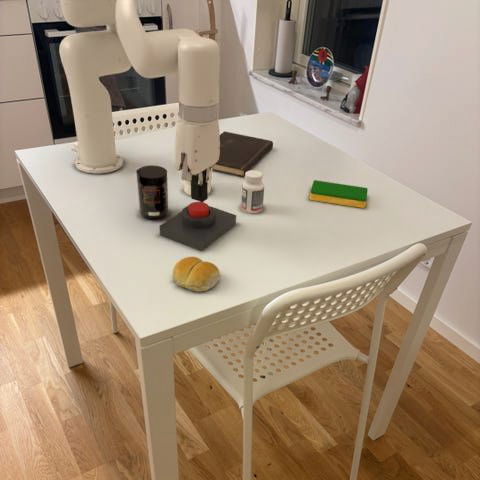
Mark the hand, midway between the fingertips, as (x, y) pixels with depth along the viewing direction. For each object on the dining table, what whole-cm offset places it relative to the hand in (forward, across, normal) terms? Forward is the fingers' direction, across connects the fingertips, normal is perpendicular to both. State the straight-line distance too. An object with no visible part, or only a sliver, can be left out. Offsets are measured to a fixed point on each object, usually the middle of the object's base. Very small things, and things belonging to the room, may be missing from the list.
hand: (199, 199), depth 110 cm
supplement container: (+8, 0, -13) cm, 15 cm away
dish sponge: (+8, -34, +19) cm, 40 cm away
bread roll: (+8, +16, +10) cm, 21 cm away
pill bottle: (+8, -16, +4) cm, 18 cm away
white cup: (+8, -16, -12) cm, 21 cm away
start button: (+4, 0, 0) cm, 4 cm away
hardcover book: (+8, -40, -16) cm, 44 cm away
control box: (+8, 0, 0) cm, 8 cm away
